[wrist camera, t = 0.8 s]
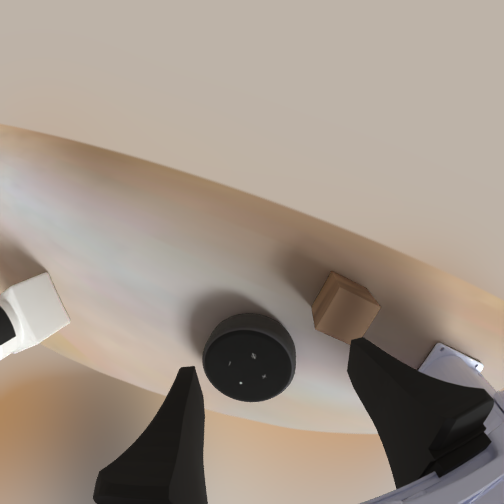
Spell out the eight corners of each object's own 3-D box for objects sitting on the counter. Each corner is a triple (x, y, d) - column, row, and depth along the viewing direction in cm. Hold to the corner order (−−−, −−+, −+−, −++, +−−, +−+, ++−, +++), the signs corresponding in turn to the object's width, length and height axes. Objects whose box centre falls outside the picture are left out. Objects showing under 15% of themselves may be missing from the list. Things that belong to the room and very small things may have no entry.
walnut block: (366, 288, 28) (380, 307, 23) (346, 323, 28) (355, 347, 24) (331, 270, 28) (339, 286, 23) (311, 306, 29) (315, 329, 24)
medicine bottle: (23, 288, 33) (-38, 316, 21) (48, 270, 32) (-22, 298, 20) (44, 333, 34) (-12, 371, 22) (72, 321, 33) (9, 363, 21)
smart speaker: (200, 365, 31) (189, 385, 28) (226, 296, 30) (217, 311, 26) (275, 393, 31) (272, 416, 27) (309, 329, 29) (312, 348, 25)
